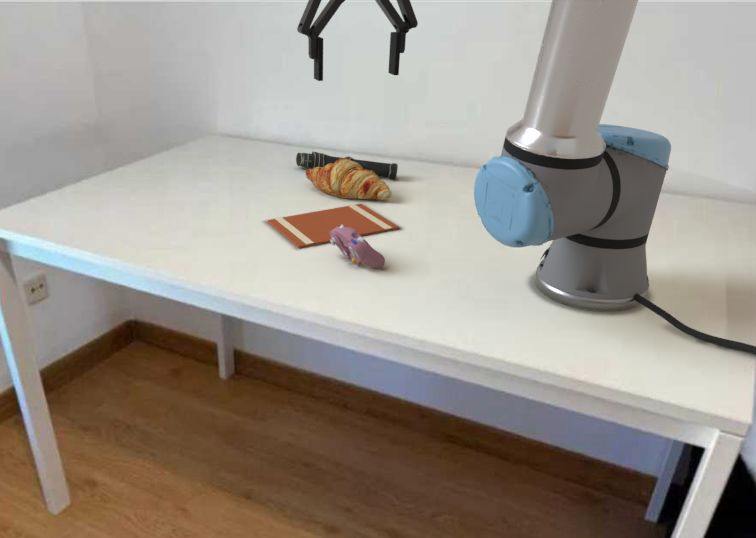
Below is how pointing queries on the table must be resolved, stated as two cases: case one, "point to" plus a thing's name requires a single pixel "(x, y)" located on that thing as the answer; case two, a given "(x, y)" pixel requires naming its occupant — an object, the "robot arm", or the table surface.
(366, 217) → the tea towel
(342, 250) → the video game controller
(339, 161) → the croissant
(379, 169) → the twine-wrapped black handle
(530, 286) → the table surface
